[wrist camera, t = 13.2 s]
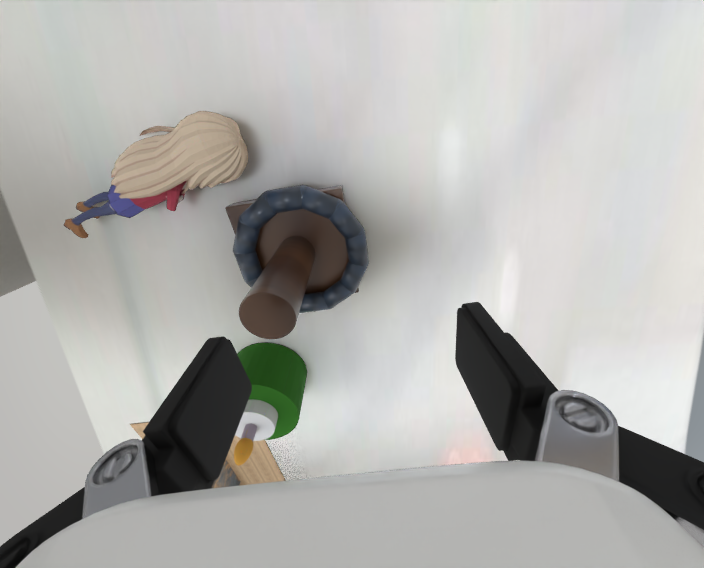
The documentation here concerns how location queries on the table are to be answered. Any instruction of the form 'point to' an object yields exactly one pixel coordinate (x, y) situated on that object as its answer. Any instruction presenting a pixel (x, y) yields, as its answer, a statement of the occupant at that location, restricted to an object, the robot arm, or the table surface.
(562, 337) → the table surface
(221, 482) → the architectural model on board
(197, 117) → the figurine
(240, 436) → the candle
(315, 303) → the segmented blue ring
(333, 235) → the stand
